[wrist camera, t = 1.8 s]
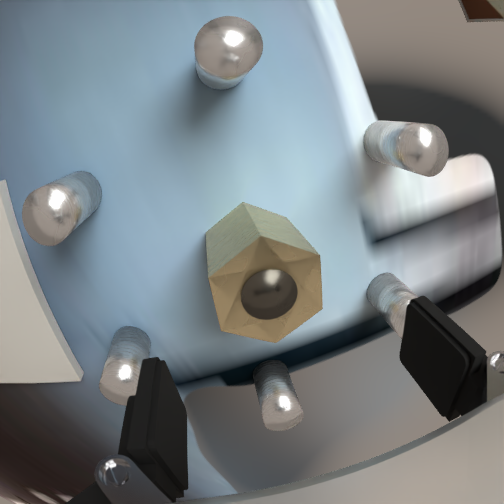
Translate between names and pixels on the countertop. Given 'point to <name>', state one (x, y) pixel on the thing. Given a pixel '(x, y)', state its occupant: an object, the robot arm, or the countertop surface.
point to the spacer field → (224, 77)
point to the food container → (483, 10)
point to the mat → (27, 315)
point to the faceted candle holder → (262, 274)
